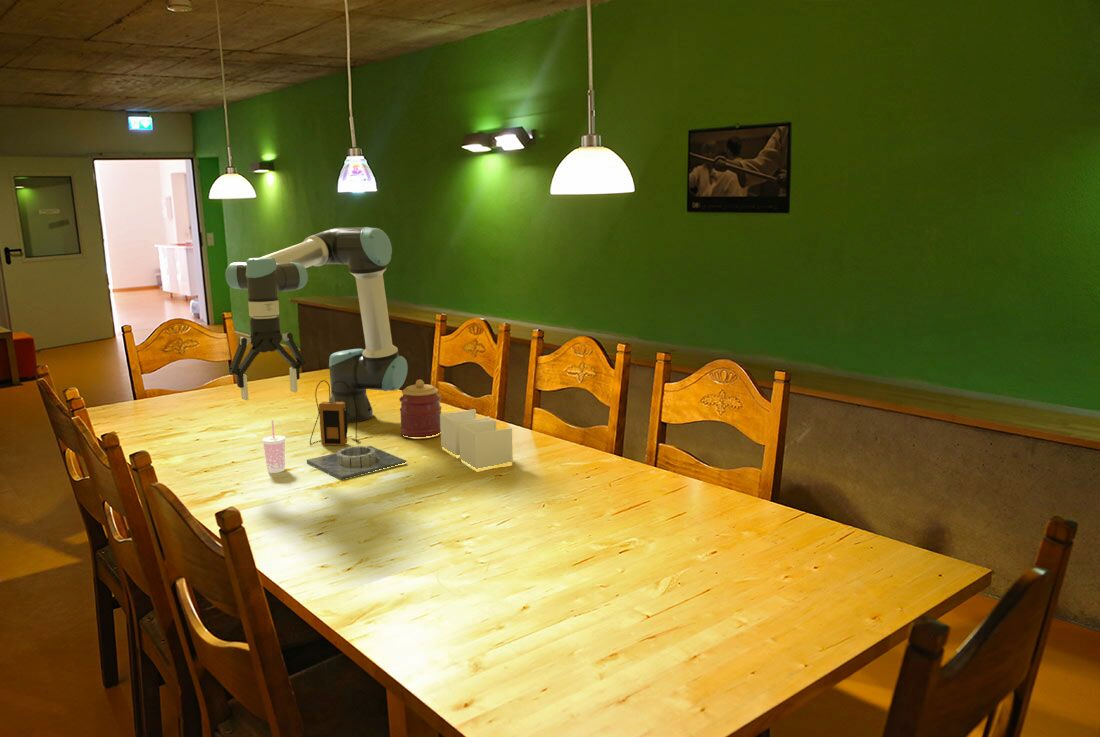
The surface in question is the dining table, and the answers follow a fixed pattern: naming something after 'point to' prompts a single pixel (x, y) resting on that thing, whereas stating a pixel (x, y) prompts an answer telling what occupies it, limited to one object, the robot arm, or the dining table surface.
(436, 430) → the canister
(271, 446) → the beverage cup
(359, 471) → the cup holder
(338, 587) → the dining table surface
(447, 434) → the desk organizer
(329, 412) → the multimeter
